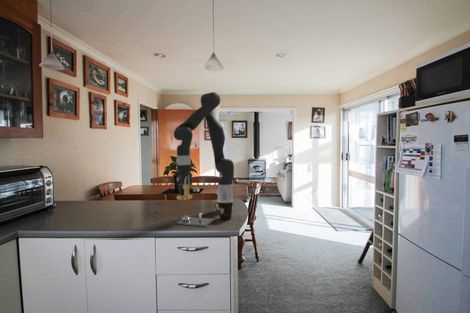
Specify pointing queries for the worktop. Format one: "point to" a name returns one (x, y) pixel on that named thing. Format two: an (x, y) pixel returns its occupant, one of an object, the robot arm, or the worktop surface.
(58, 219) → the worktop surface
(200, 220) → the carrier
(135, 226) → the worktop surface
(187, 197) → the planet gear
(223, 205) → the coffee mug
